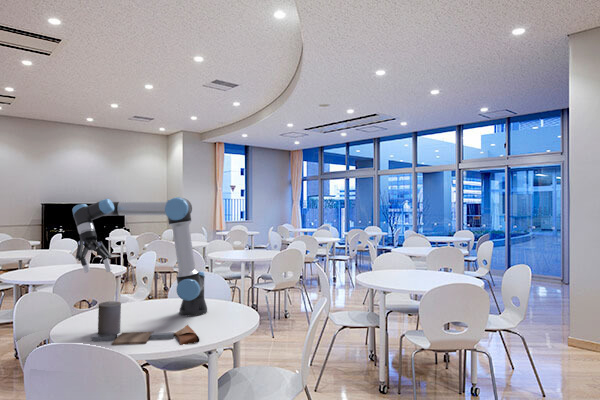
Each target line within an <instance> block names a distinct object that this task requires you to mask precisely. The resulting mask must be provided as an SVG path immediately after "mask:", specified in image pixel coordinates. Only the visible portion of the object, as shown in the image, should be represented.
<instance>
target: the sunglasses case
mask: <svg viewBox="0 0 600 400" xmlns="http://www.w3.org/2000/svg"><path fill="white" fill-rule="evenodd" d="M174 338H176V340H177V341H178V343H179V345H180V346H183V344H185V345H189V344H188V343H192V344H195V343H194V342H200V337H199V336H198V335H197V333H196V332H195V330H194V329H193V328H191V326H189V324H187V325H185V326H184V327H183V328H181V329H179V330H177V331H176V332H175V337H174Z"/></svg>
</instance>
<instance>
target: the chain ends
mask: <svg viewBox="0 0 600 400" xmlns="http://www.w3.org/2000/svg"><path fill="white" fill-rule="evenodd" d="M175 333H176V332H174V331H173V332H171V331H170V332H154V333H151V335H150V339H149V340H171V339H172V340H174V338H176V337H175ZM117 337H118V334H105V335H98V334H93V335H92V336H91V337H90V341H94V342H113V341H114V340H115V339H116V338H117Z"/></svg>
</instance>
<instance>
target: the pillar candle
mask: <svg viewBox="0 0 600 400" xmlns="http://www.w3.org/2000/svg"><path fill="white" fill-rule="evenodd" d="M121 311H122V302H121V301H117V300H116V301H115V300H112V301H110V300H109V301H105V302H104V301H103V302H101V303H98V311H97V312H98V317H97V320H98V321H97V323H98V324H97V335H105V334H117V335H118V334H119V333H121V319H122V318H121V317H122V316H121V315H122V312H121Z"/></svg>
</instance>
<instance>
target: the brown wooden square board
mask: <svg viewBox="0 0 600 400" xmlns="http://www.w3.org/2000/svg"><path fill="white" fill-rule="evenodd" d="M151 333H155V332H154V331H132V332H131V331H130V332H128V331H127V332H120V334H119V335H117V338H116V339H115V340H114V341H111V346H114V345H115V346H120V345H145V344H147V343H148V341H149V340H150V335H151Z"/></svg>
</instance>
